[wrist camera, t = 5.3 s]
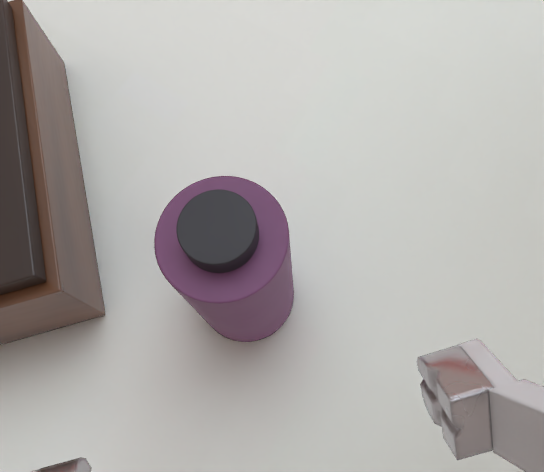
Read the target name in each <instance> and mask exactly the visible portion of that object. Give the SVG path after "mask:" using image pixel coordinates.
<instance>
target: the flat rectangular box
mask: <svg viewBox="0 0 544 472" xmlns="http://www.w3.org/2000/svg"><path fill="white" fill-rule="evenodd" d="M103 315H105V309H104V303H103V297H102V291H101V285H100V279H99V272H98V266H97V260H96V254H95V248H94V242H93V236H92V230H91V224H90V218H89V212H88V206H87V199H86V193H85V187H84V181H83V175H82V169H81V163H80V157H79V151H78V145H77V139H76V132H75V126H74V120H73V114H72V108H71V102H70V96H69V90H68V84H67V78H66V72H65V66H64V62H63V60H62V59H61V57H60V56H59V54H58V53H57V51H56V50H55V48H54V47H53V45H52V44H51V42H50V41H49V39H48V38H47V36H46V35H45V33H44V32H43V30H42V29H41V27H40V26H39V24H38V23H37V21H36V20H35V18H34V17H33V15H32V14H31V12H30V11H29V9H28V8H27V6H26V5H25V3H24V2H23V0H14V1H10V2H8V1H7V0H0V345H1V344H5V343H8V342H12V341H15V340H19V339H22V338H26V337H29V336H33V335H36V334H40V333H43V332H47V331H50V330H54V329H57V328H61V327H64V326H68V325H71V324H75V323H78V322H82V321H85V320H89V319H92V318H96V317H99V316H103Z"/></svg>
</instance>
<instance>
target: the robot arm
mask: <svg viewBox="0 0 544 472" xmlns="http://www.w3.org/2000/svg"><path fill="white" fill-rule="evenodd" d="M417 365H418V371H419V372H420V374H421V376H422V377H423V381H422V383H421V384H420V386H421V392H422V396H423V400H424V403H425V406H426V408H427V410H428V412H429V415H430V416H431V418H432V420H433V422H434V423H435V424H437V425H439V426H441V427H442V432H443V438H444V440H445V441H446V443H447V445H448V446H449V448H450V449H451V451H452V453H453V454H454V456H455V458H456V459H457V460H460V459H463V458H467V457H471V456H474V455H478V454H482V453H485V452H489V451H492V450H493V452H494V453H496V454H497V455H499V456H500V457H502V458H504V459H505V460H507V461H509V462H510V463H512V464H514V465H515V466H517V467H518V468H520V469H522V470H523V471H525V472H544V386H541V385H538V384H536V383H533V382H530V381H528V380H525V379H523V380H519V381H518V380H517V379H516V378H515V377H514V376H513V375H512V374H511V373H510V372H509V371H508V369H507V368H506V367H505V366H504V365H503V364H502V363H501V362H500V361H499V360H498V359H497V357H496V356H495V355H494V354H493V353H492V352H491V351H490V350H489V349H488V348H487V347H486V346H485V344H484V343H483V342H482V341H481V340H479V339H474V340H471V341H467V342H464V343H461V344H458V345H457V346H452V347H449V348H446V349H443V350H439V351H436V352H433V353H430V354H426V355H423V356H420V357H418V359H417ZM91 469H92V468H91V466H90V464H89V463H88V461H87V460H86V458H77V459H74V460H70V461H66V462H63V463H59V464H55V465H52V466H48V467H44V468H41V469H39V470H35V471H31V472H91Z"/></svg>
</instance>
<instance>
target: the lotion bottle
mask: <svg viewBox="0 0 544 472" xmlns="http://www.w3.org/2000/svg"><path fill="white" fill-rule="evenodd" d="M155 255H156V259H157V262H158V265H159V267H160V270H161V272H162V273H163V275H164V276H165V278H166V279H167V280H168V282H169V283H170V284H171V285H172V286H173V287H174V288H175V289H176V290H177V291H178V292H179V293H180V294H181V295H182V296H183V297H184V299H185V300H186V301H187V302H188V303H189V304H190V305H191V306H192V307H193V308H194V309H195V310H196V311H197V312H198V313H199V314H200V315H201V316H202V317H203V318H204V319H205V320H206V321H207V322H208V323H209V324H210V325H211V326H212V327H213V328H214V329H215V330H216V331H217V332H218V333H220V334H221V335H223V336H225V337H227V338H229V339H232V340H235V341H241V342H250V341H256V340H260V339H263V338H265V337H267V336H269V335H271V334H273V333H274V332H275V331H277V330H278V329H279V328H280V327H281V326H282V325H283V323H284V322H285V321H286V319H287V318H288V316H289V314H290V311H291V308H292V305H293V299H294V291H293V278H292V266H291V253H290V240H289V229H288V223H287V219H286V216H285V214H284V211H283V210H282V208H281V206H280V204H279V203H278V202H277V200H276V199H275V198H274V197H273V196H272V195H271V194H270V193H269V192H268V191H267V190H266V189H264V188H263V187H261V186H260V185H258V184H256V183H254V182H252V181H249V180H247V179H243V178H239V177H233V176H218V177H211V178H207V179H204V180H201V181H198V182H196V183H194V184H191V185H190V186H188V187H186V188H185V189H183V190H182V191H181V192H179V193H178V194H177V195H176V196H175V197H174V198H173V199H172V200H171V201H170V202H169V204H168V205H167V206H166V208H165V209H164V211H163V213H162V215H161V217H160V219H159V222H158V224H157V228H156V232H155Z"/></svg>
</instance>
